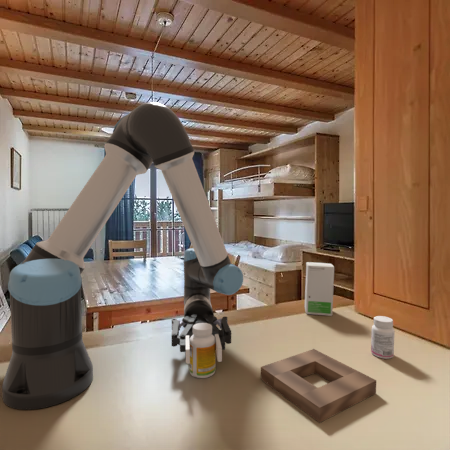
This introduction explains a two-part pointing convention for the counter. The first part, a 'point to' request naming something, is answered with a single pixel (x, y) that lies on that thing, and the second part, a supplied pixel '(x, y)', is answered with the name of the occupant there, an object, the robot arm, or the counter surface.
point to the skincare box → (319, 288)
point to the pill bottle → (382, 337)
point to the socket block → (323, 396)
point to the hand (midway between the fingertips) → (203, 355)
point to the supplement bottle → (202, 351)
